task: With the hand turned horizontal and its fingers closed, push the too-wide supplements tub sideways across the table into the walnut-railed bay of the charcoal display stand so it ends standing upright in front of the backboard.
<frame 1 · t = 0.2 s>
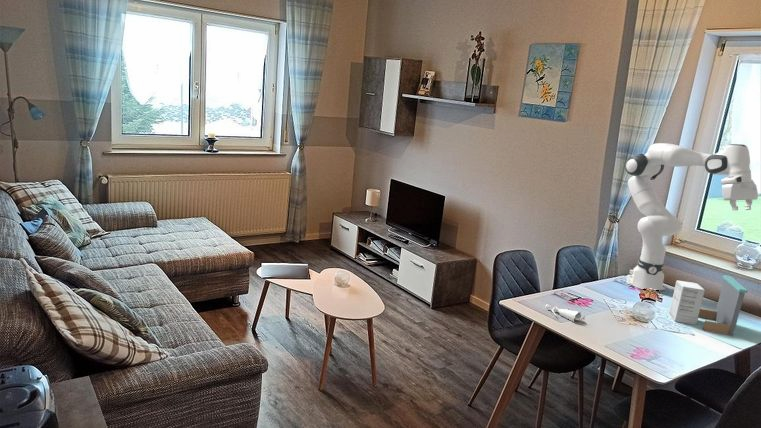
hand: (741, 210, 241), 52 cm above the table, tool tilted 20°, fingers open, 8 cm apart
display stand: (708, 324, 242), on the table
woman figurine: (563, 316, 235), on the table
supplement box: (681, 319, 245), on the table
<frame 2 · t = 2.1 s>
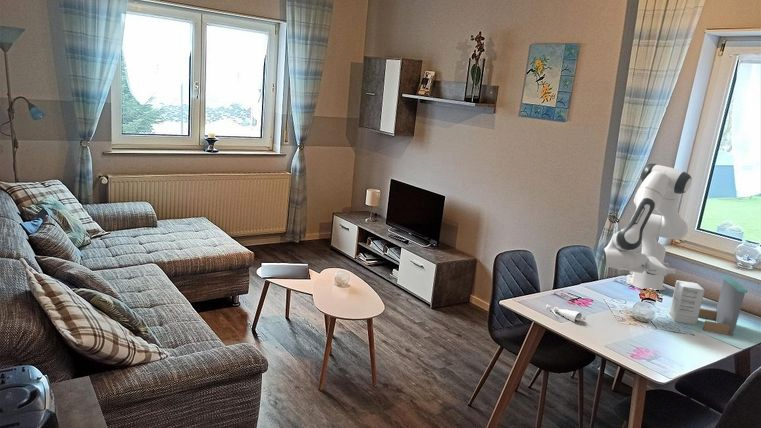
hand: (671, 268, 241), 23 cm above the table, tool horizontal, fingers open, 8 cm apart
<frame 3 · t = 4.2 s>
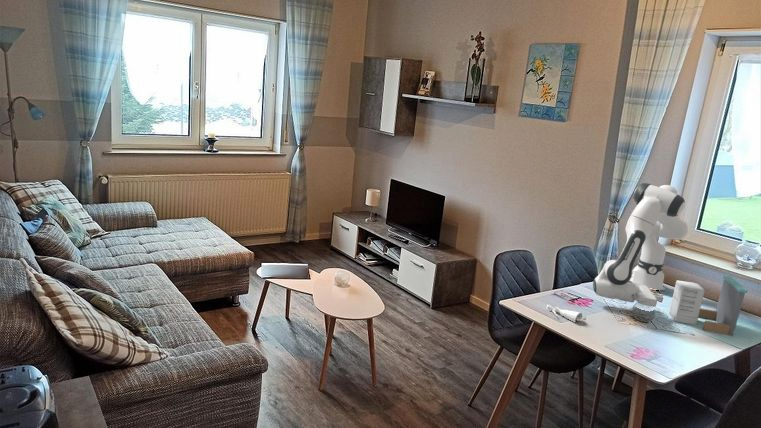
hand: (662, 298, 245), 8 cm above the table, tool horizontal, fingers closed
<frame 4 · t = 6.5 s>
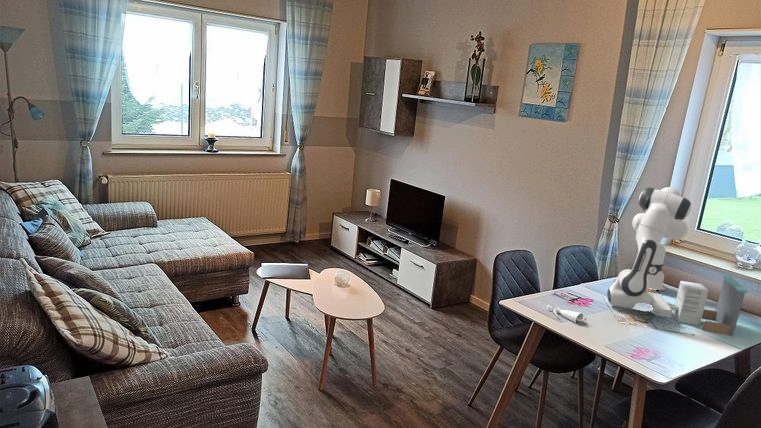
hand: (677, 307, 244), 5 cm above the table, tool horizontal, fingers closed, pressing on supplement box
supplement box: (685, 320, 244), on the table, touching gripper
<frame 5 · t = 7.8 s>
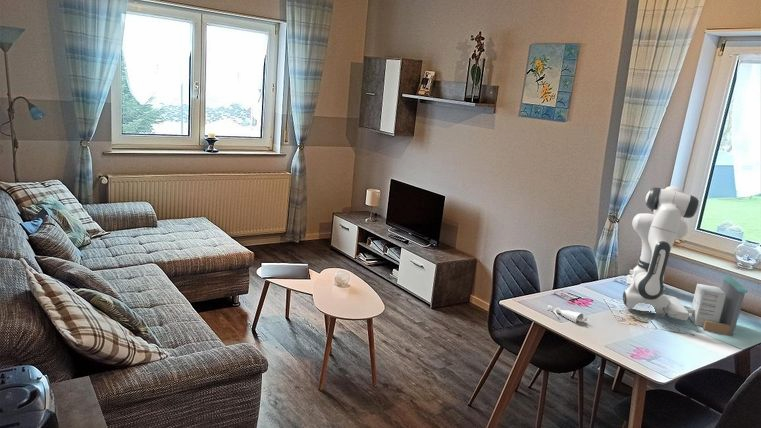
hand: (693, 310, 243), 5 cm above the table, tool horizontal, fingers closed, pressing on supplement box
supplement box: (702, 323, 243), on the table, touching gripper
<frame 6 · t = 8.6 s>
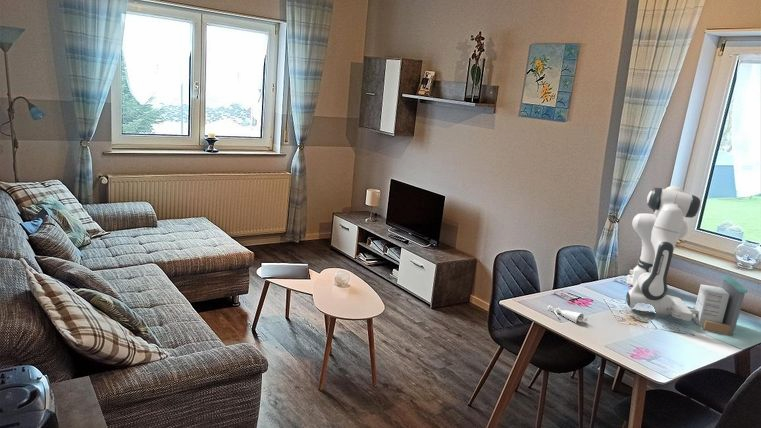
hand: (697, 311, 242), 5 cm above the table, tool horizontal, fingers closed, pressing on supplement box
supplement box: (705, 324, 242), on the table, touching gripper
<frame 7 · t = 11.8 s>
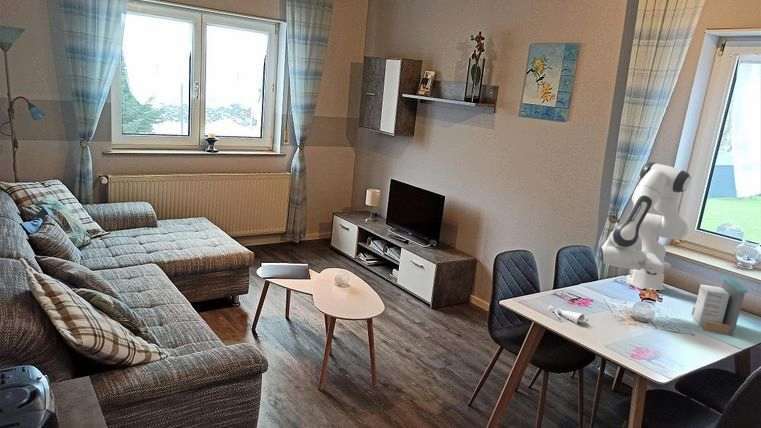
hand: (670, 265, 241), 24 cm above the table, tool horizontal, fingers closed
supplement box: (705, 324, 242), on the table
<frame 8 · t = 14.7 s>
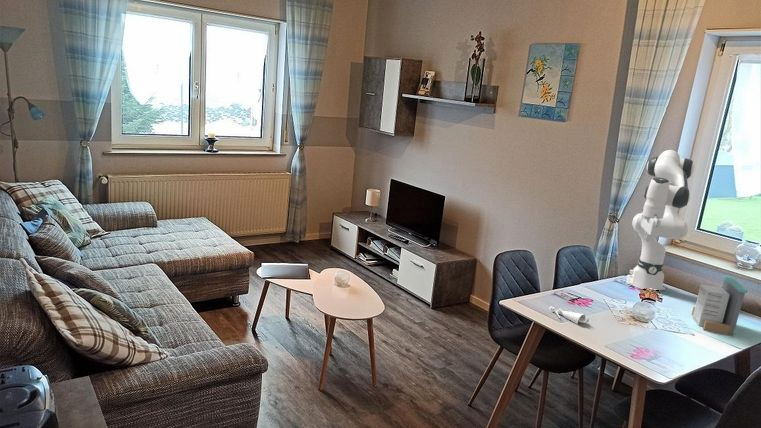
hand: (646, 241, 252), 31 cm above the table, tool pointing down, fingers closed
at the end: supplement box inside the target area (0.5 cm from its centre), on the table; supplement box tilted 0°; supplement box moved 10.0 cm from its start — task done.
